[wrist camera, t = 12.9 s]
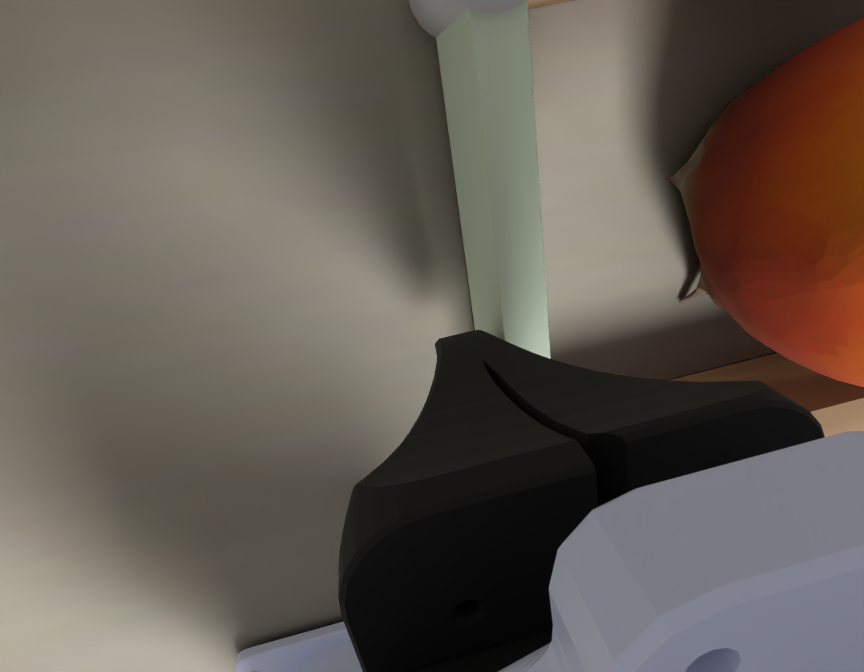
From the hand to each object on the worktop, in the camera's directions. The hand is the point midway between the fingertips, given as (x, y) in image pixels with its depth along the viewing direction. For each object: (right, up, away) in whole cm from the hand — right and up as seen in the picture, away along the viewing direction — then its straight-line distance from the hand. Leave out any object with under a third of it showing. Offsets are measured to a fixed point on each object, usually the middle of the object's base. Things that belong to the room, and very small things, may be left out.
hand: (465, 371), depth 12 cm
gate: (+1, +3, +1) cm, 4 cm away
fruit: (+9, +5, +3) cm, 11 cm away
